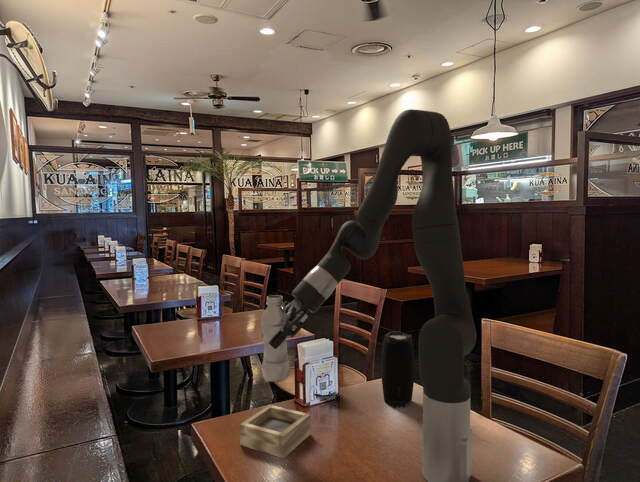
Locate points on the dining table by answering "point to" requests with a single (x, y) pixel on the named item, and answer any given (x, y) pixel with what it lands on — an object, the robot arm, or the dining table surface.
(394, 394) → the portable speaker
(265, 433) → the stand
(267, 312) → the plastic bottle
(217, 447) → the dining table surface
